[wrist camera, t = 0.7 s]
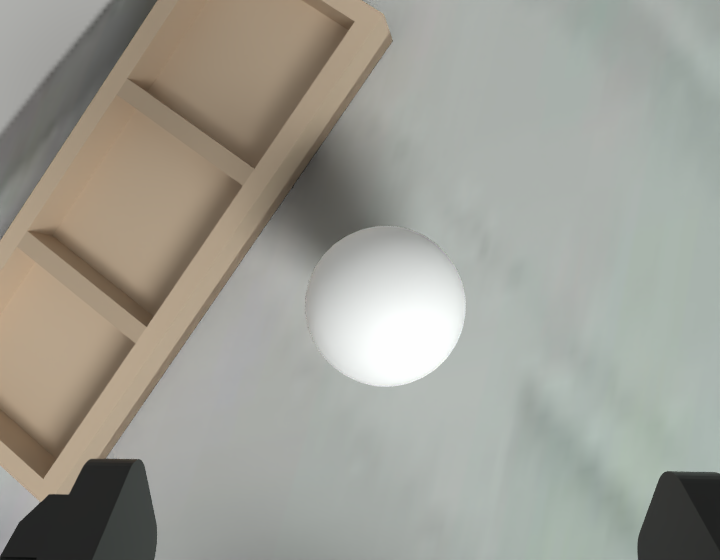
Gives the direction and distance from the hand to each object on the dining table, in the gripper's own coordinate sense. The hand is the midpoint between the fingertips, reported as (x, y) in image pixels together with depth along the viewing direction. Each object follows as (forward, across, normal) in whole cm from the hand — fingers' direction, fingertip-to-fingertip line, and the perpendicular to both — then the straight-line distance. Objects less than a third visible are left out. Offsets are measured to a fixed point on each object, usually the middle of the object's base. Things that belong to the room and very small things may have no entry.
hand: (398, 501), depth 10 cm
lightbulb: (+20, -2, +9) cm, 23 cm away
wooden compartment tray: (+25, +12, +7) cm, 28 cm away
